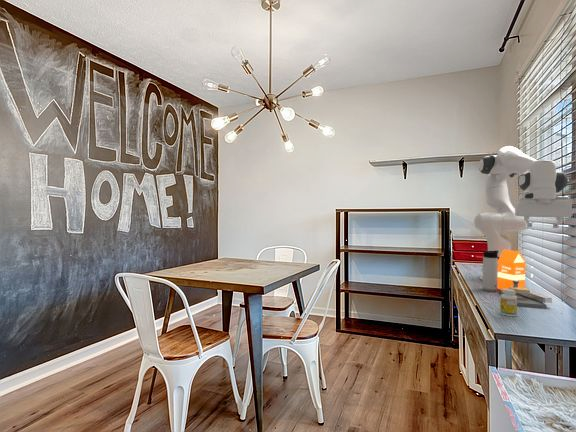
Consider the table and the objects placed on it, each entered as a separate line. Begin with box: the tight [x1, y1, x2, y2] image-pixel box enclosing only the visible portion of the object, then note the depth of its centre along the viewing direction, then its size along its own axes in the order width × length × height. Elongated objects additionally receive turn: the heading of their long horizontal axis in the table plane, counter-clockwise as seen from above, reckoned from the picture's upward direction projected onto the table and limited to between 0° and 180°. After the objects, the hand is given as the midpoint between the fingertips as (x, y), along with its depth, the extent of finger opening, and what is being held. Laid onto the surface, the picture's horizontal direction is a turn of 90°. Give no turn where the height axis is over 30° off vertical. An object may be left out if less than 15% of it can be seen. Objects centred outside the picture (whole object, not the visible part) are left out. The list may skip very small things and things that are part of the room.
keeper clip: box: [509, 287, 531, 296], centre depth 149 cm, size 4×7×4 cm, turn 69°
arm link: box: [511, 280, 553, 304], centre depth 150 cm, size 21×4×5 cm, turn 4°
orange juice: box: [497, 249, 526, 290], centre depth 170 cm, size 8×9×20 cm
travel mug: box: [482, 250, 499, 293], centre depth 168 cm, size 6×7×20 cm
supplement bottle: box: [499, 289, 518, 317], centre depth 130 cm, size 5×5×10 cm
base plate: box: [499, 289, 547, 310], centre depth 151 cm, size 23×12×2 cm, turn 159°
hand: (542, 227), depth 147 cm, fingers open, 8 cm apart
